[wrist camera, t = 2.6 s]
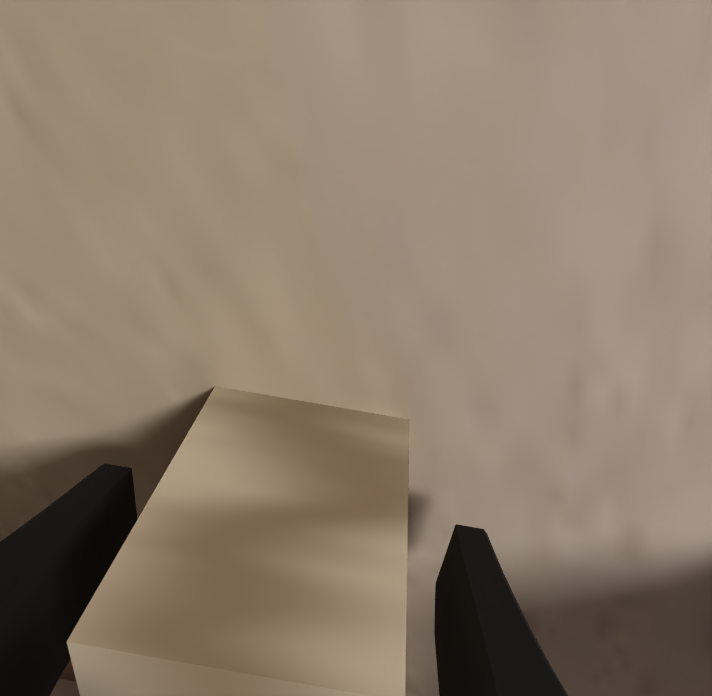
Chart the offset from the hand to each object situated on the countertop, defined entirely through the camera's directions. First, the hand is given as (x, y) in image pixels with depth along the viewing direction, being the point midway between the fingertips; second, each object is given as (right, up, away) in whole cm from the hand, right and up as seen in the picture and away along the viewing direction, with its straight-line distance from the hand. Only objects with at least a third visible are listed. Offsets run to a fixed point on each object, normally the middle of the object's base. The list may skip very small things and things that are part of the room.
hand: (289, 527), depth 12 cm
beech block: (0, +1, +1) cm, 2 cm away
